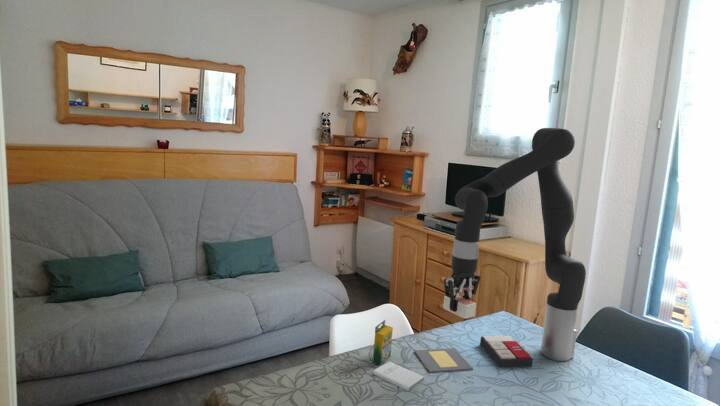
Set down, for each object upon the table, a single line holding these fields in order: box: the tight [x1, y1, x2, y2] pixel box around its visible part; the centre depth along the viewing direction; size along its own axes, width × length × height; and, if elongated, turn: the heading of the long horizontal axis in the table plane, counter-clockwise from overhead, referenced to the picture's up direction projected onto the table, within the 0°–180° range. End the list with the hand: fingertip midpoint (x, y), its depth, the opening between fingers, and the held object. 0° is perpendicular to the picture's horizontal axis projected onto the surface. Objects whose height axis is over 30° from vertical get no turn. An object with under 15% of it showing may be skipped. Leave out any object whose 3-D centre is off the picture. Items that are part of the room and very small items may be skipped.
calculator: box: [479, 335, 534, 369], centre depth 146 cm, size 11×4×15 cm
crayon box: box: [372, 319, 394, 366], centre depth 137 cm, size 7×3×12 cm, turn 152°
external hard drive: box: [372, 361, 425, 392], centre depth 129 cm, size 2×8×12 cm
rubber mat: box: [414, 347, 474, 374], centre depth 140 cm, size 14×13×1 cm
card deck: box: [442, 293, 477, 320], centre depth 135 cm, size 9×4×4 cm, turn 35°
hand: (459, 309), depth 135 cm, fingers closed on card deck, 4 cm apart
